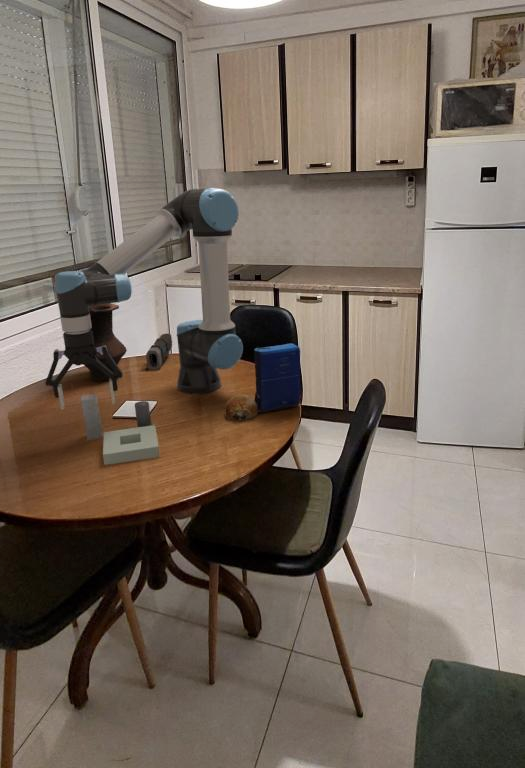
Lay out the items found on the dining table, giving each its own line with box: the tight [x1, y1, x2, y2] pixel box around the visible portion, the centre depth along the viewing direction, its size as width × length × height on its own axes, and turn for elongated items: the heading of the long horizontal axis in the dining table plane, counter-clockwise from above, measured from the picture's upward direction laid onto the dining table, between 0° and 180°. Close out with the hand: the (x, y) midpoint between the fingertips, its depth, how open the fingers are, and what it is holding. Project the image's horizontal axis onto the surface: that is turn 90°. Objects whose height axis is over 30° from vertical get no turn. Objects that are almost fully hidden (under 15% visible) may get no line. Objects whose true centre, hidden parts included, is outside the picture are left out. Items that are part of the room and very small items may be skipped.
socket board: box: [102, 424, 161, 466], centre depth 149 cm, size 14×14×3 cm
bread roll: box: [224, 393, 258, 422], centre depth 167 cm, size 10×10×8 cm
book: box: [253, 343, 301, 413], centre depth 168 cm, size 14×5×20 cm, turn 112°
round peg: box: [134, 400, 152, 428], centre depth 160 cm, size 4×4×8 cm
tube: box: [145, 333, 173, 372], centre depth 224 cm, size 11×7×30 cm
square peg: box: [80, 393, 104, 441], centre depth 156 cm, size 4×4×12 cm
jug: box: [82, 303, 128, 382], centre depth 201 cm, size 21×18×30 cm
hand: (88, 404), depth 155 cm, fingers open, 13 cm apart
